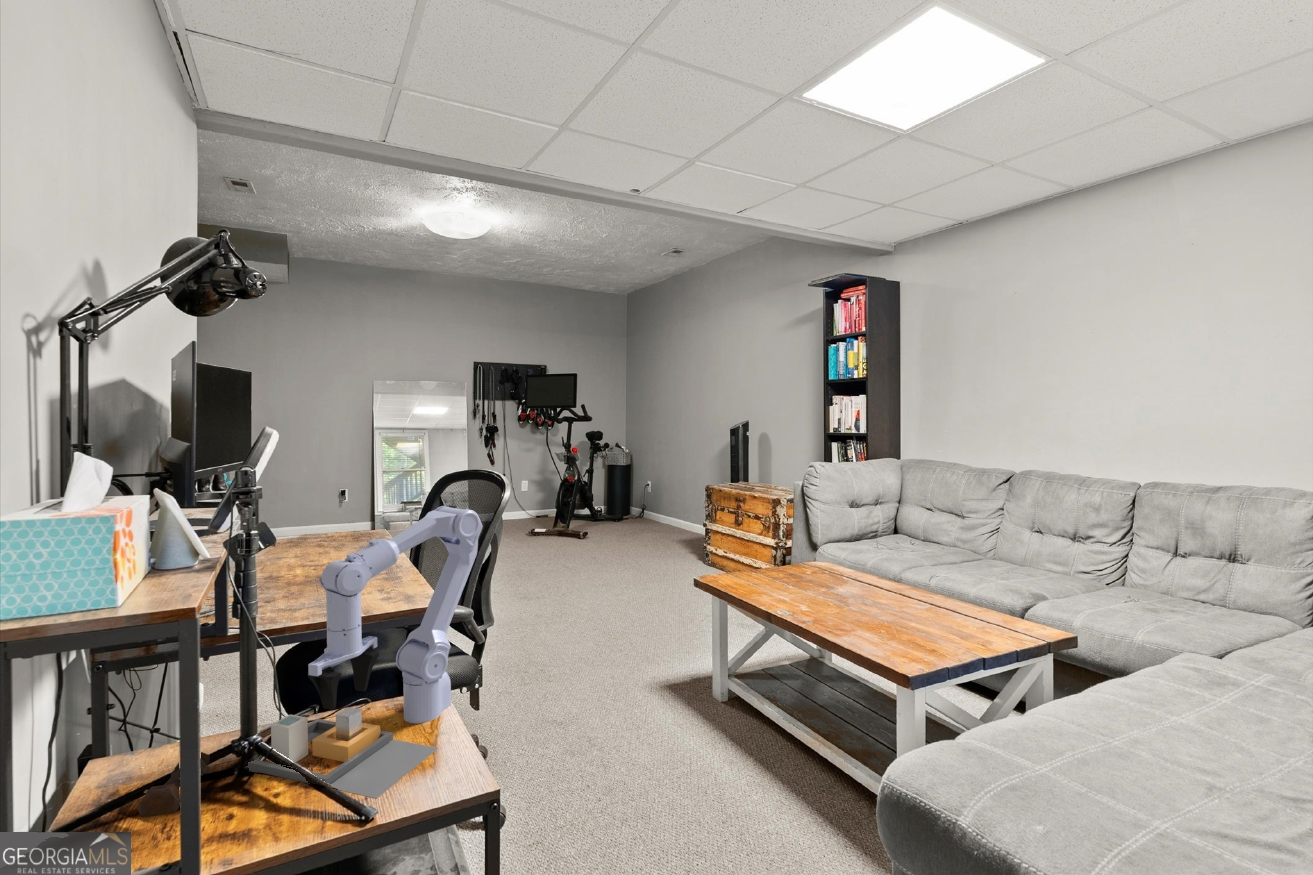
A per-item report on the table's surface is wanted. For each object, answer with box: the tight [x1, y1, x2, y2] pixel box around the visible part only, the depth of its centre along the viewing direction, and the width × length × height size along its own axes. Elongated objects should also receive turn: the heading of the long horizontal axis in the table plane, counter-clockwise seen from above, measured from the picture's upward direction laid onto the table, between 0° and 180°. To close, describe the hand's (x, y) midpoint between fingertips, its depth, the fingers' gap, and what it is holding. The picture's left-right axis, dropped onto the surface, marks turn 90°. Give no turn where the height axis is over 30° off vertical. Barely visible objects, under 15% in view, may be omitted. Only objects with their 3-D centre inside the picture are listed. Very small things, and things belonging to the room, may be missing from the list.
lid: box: [330, 739, 439, 800], centre depth 111 cm, size 16×11×1 cm, turn 163°
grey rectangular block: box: [335, 706, 363, 742], centre depth 117 cm, size 3×3×7 cm
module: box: [270, 714, 309, 764], centre depth 114 cm, size 4×4×7 cm
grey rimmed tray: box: [248, 718, 394, 785], centre depth 116 cm, size 16×18×4 cm
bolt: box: [137, 751, 211, 818], centre depth 105 cm, size 6×5×15 cm
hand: (345, 698), depth 117 cm, fingers open, 7 cm apart
